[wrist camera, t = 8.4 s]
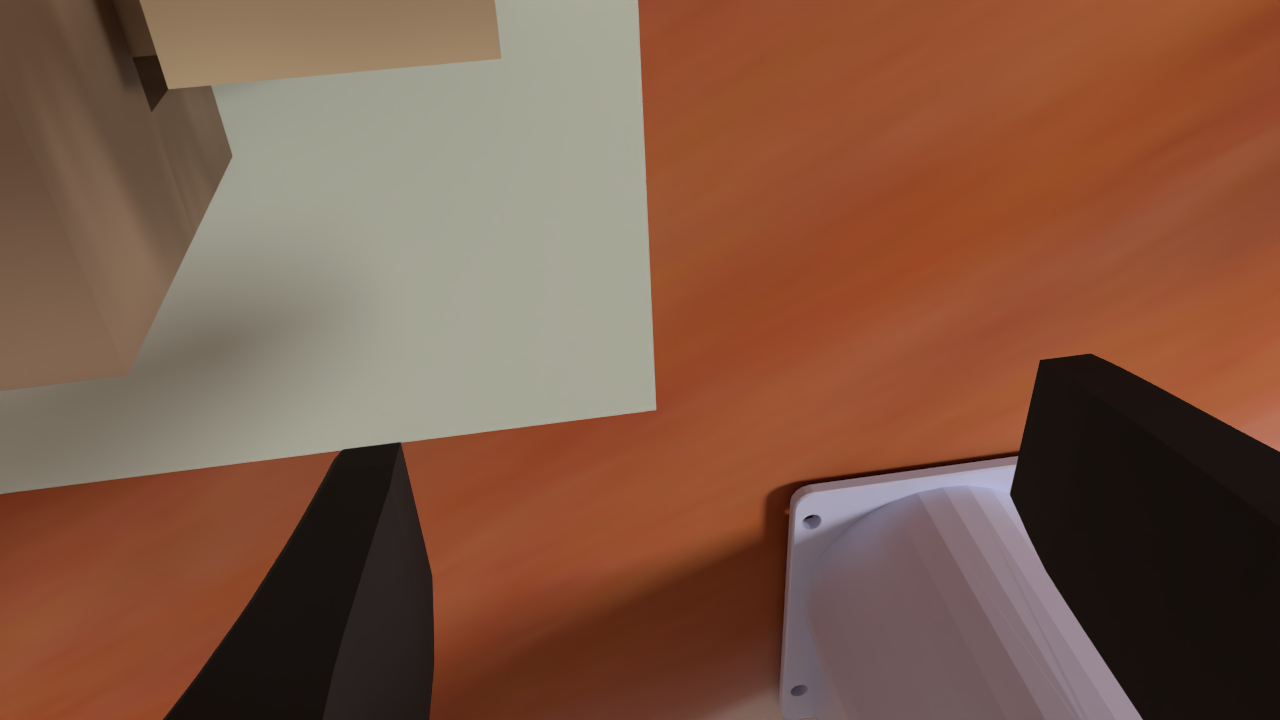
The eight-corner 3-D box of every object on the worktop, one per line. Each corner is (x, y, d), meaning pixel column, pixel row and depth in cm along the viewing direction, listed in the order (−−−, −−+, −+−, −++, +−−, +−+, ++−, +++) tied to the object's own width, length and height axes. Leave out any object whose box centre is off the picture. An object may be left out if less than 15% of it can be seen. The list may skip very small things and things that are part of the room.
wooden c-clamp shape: (233, 156, 18) (127, 376, 12) (130, 166, 18) (-25, 394, 12) (91, -307, 14) (-161, -300, 8) (-43, -299, 14) (-395, -286, 8)
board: (650, 389, 23) (656, 409, 23) (-64, 479, 22) (-80, 504, 21) (616, -330, 15) (623, -332, 15) (-512, -270, 14) (-559, -267, 13)
